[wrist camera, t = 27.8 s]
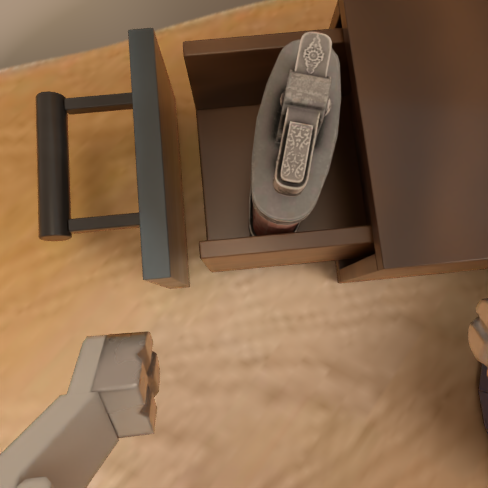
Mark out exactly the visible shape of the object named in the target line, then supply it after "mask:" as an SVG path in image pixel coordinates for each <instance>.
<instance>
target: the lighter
mask: <svg viewBox="0 0 488 488" xmlns="http://www.w3.org/2000/svg"><path fill="white" fill-rule="evenodd" d="M340 104H341V83H340V63H339V59H338V56H337V54H336V53H335V52H334V50H333V49H332V41H331V39H330V37H329V36H327V35H326V34H323V33H319V32H307V33H305V34H304V35H303V36H302V38H301V39H300V40H296V41H292V42H291V43H289V44H288V45H286V46H285V47H284V48H283V49H282V51H281V52H280V54H279V56H278V58H277V61H276V63H275V65H274V68H273V70H272V72H271V75H270V77H269V80H268V82H267V84H266V88H265V91H264V95H263V98H262V102H261V105H260V109H259V113H258V116H257V120H256V128H255V136H254V144H253V152H252V169H251V180H252V181H251V189H250V197H249V231H250V236H260V235H271V234H281V233H292V232H296V231H297V229H298V226H299V224H300V222H301V221H302V220H304V219H305V218H306V217H308V215H309V214H310V212H311V211H312V209H313V208H314V206H315V205H316V202H317V200H318V197H319V195H320V192H321V189H322V187H323V184H324V182H325V179H326V176H327V174H328V171H329V168H330V163H331V159H332V155H333V151H334V147H335V143H336V139H337V135H338V126H339V115H340Z"/></svg>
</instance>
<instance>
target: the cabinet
mask: <svg viewBox="0 0 488 488" xmlns="http://www.w3.org/2000/svg"><path fill="white" fill-rule="evenodd" d="M335 28H342V29H343V35H344V42H345V49H346V56H347V63H348V69H349V76H350V83H351V90H352V96H353V103H354V110H355V117H356V124H357V130H358V137H359V144H360V151H361V157H362V164H363V171H364V178H365V185H366V191H367V198H368V205H369V212H370V219H371V225H372V232H373V239H374V246H375V252H376V253H375V254H373V255H371V256H368V257H364V258H354V259H343V260H335V263H336V271H337V278H338V283H348V282H358V281H368V280H379V279H389V278H399V277H409V276H420V275H430V274H440V273H450V272H461V271H471V270H481V269H488V0H338V1H337V4H336V8H335V11H334V14H333V17H332V21H331V24H330V27H329V29H335Z"/></svg>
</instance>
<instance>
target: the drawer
mask: <svg viewBox="0 0 488 488" xmlns="http://www.w3.org/2000/svg"><path fill="white" fill-rule="evenodd" d="M307 32H319V33H323V34H326V35H327V36H329V37H330V39H331V41H332V49H333V50H334V52H335V53H336V54H337V56H338V59H339V63H340V83H341V104H340V115H339V126H338V135H337V139H336V143H335V147H334V151H333V155H332V159H331V163H330V168H329V171H328V174H327V176H326V179H325V182H324V184H323V187H322V189H321V192H320V195H319V197H318V200H317V202H316V205H315V206H314V208H313V209H312V211H311V212H310V214H309V215H308V217H306V218H305V219H304V220H302V221H301V222H300V224H299V226H298V229H297V231H296V232H292V233H281V234H271V235H260V236H250V231H249V197H250V189H251V181H252V180H251V169H252V152H253V144H254V136H255V128H256V120H257V116H258V113H259V109H260V105H261V102H262V98H263V95H264V91H265V88H266V84H267V82H268V80H269V77H270V75H271V72H272V70H273V68H274V65H275V63H276V61H277V58H278V56H279V54H280V52H281V51H282V49H283V48H284V47H285V46H286V45H288V44H289V43H291V42H292V41H296V40H300V39H301V38H302V36H303V35H304V34H305V33H307ZM128 36H129V53H130V69H131V86H132V93H122V94H110V95H99V96H88V97H76V98H65V97H64V96H63V95H61V94H59V93H55V92H41V93H39V94H37V96H36V131H37V177H38V223H39V239H41V240H45V241H63V240H68V239H71V237H72V233H74V234H75V233H85V232H96V231H106V230H117V229H127V228H138V227H140V236H141V253H142V269H143V280H145V281H148V282H151V283H154V284H157V285H160V286H163V287H166V288H169V289H173V288H184V287H190V282H189V269H188V256H187V243H186V230H185V217H184V204H183V191H182V178H181V165H180V152H179V139H178V126H177V114H176V101H175V96H174V93H173V90H172V86H171V83H170V80H169V77H168V74H167V70H166V67H165V64H164V61H163V58H162V55H161V51H160V48H159V45H158V42H157V39H156V35H155V32H154V29H153V28H144V29H133V30H129V31H128ZM183 53H184V59H185V64H186V68H187V72H188V77H189V81H190V85H191V90H192V94H193V99H194V103H195V107H196V115H197V126H198V138H199V150H200V162H201V174H202V185H203V197H204V209H205V221H206V232H207V241H200V242H199V249H200V258H201V260H202V261H203V262H204V264H205V265H206V266H207V267H208V269H209V270H210V271H211V272H219V271H229V270H240V269H250V268H261V267H271V266H281V265H292V264H302V263H312V262H323V261H333V260H343V259H354V258H364V257H368V256H371V255H373V254H375V253H376V252H375V246H374V239H373V232H372V225H371V219H370V212H369V205H368V198H367V191H366V185H365V178H364V171H363V164H362V157H361V151H360V144H359V137H358V130H357V124H356V117H355V110H354V103H353V96H352V90H351V83H350V76H349V69H348V63H347V56H346V49H345V42H344V35H343V29H342V28H335V29H324V30H312V31H301V32H289V33H277V34H266V35H254V36H243V37H231V38H220V39H208V40H196V41H185V42H183ZM126 109H133V119H134V136H135V153H136V169H137V186H138V203H139V213H129V214H119V215H108V216H97V217H87V218H76V219H71V201H70V172H69V143H68V114H81V113H93V112H104V111H115V110H126ZM67 113H68V114H67Z"/></svg>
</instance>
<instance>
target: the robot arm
mask: <svg viewBox="0 0 488 488" xmlns="http://www.w3.org/2000/svg"><path fill="white" fill-rule="evenodd" d="M475 311H476V313H477V314H478V317H477V318H476V319H475V320H474V321H473V322H471V323H470V327H469V330H468V341H469V345H470V348H471V351H472V353H473V354H474V356H475V358H476V359H477V360H478V361H479V362H481V363H482V364H484V365H486V366H487V367H488V298H486V299H482V300H480V301H479V302H478V304H477V306H476V309H475ZM152 347H153V340H152V337H151V333H150V332H137V333H123V334H109V335H100V336H87V337H86V339H85V340H84V341H83V343H82V346H81V350H80V353H79V356H78V359H77V362H76V366H75V369H74V372H73V375H72V378H71V382H70V385H69V388H68V391H67V394H66V395H60V396H59V397H58V398H57V399H56V400H55V401H54V402H53V403H52V404H51V405H50V406H49V407H48V408H47V409H46V410H45V411H44V412H43V413H42V414H41V415H40V416H39V417H38V418H37V419H36V420H35V421H34V422H33V423H32V424H30V425H29V426H28V427H27V428H26V429H25V430H24V431H23V432H22V433H21V434H20V435H19V436H18V437H17V438H16V439H15V440H14V441H13V442H12V443H11V444H10V445H9V446H8V447H7V448H6V449H5V450H4V451H3V452H2V453H1V454H0V488H86V487H87V486H88V484H89V483H90V481H91V480H92V478H93V477H94V475H95V474H96V473H97V471H98V470H99V468H100V467H101V465H102V464H103V462H104V461H105V460H106V458H107V457H108V455H109V454H110V452H111V451H112V449H113V448H114V446H115V445H116V444H117V442H118V441H119V440H118V438H123V437H131V436H139V435H147V434H154V431H155V422H156V414H157V406H156V403H155V399H154V397H155V396H156V395H157V393H158V392H159V385H160V368H159V361H158V357H157V354H156V353H155V352H153V351H152ZM487 377H488V370H487Z"/></svg>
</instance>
